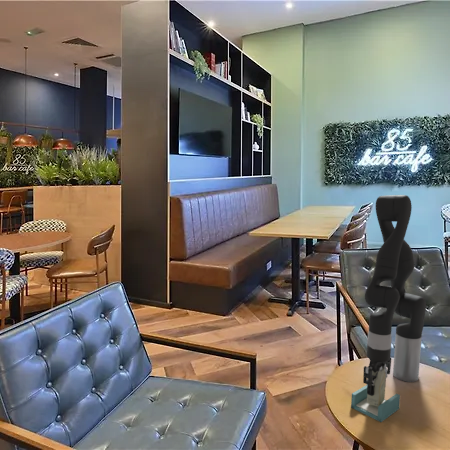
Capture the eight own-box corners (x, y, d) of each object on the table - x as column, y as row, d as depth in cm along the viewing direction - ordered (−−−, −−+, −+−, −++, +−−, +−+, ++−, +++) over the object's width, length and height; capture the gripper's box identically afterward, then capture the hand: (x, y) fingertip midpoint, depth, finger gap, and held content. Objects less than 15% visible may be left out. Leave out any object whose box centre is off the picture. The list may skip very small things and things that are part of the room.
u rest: (369, 395, 150) (370, 382, 149) (399, 408, 142) (400, 395, 141) (350, 407, 142) (351, 393, 141) (381, 422, 134) (381, 407, 133)
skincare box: (379, 407, 138) (381, 373, 136) (366, 403, 140) (368, 369, 139) (384, 399, 143) (386, 365, 141) (371, 395, 145) (373, 362, 144)
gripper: (379, 335, 146) (376, 380, 149) (357, 346, 137) (354, 393, 139) (400, 342, 141) (397, 388, 143) (378, 354, 131) (375, 403, 134)
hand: (376, 390), depth 141 cm, fingers closed on skincare box, 7 cm apart
